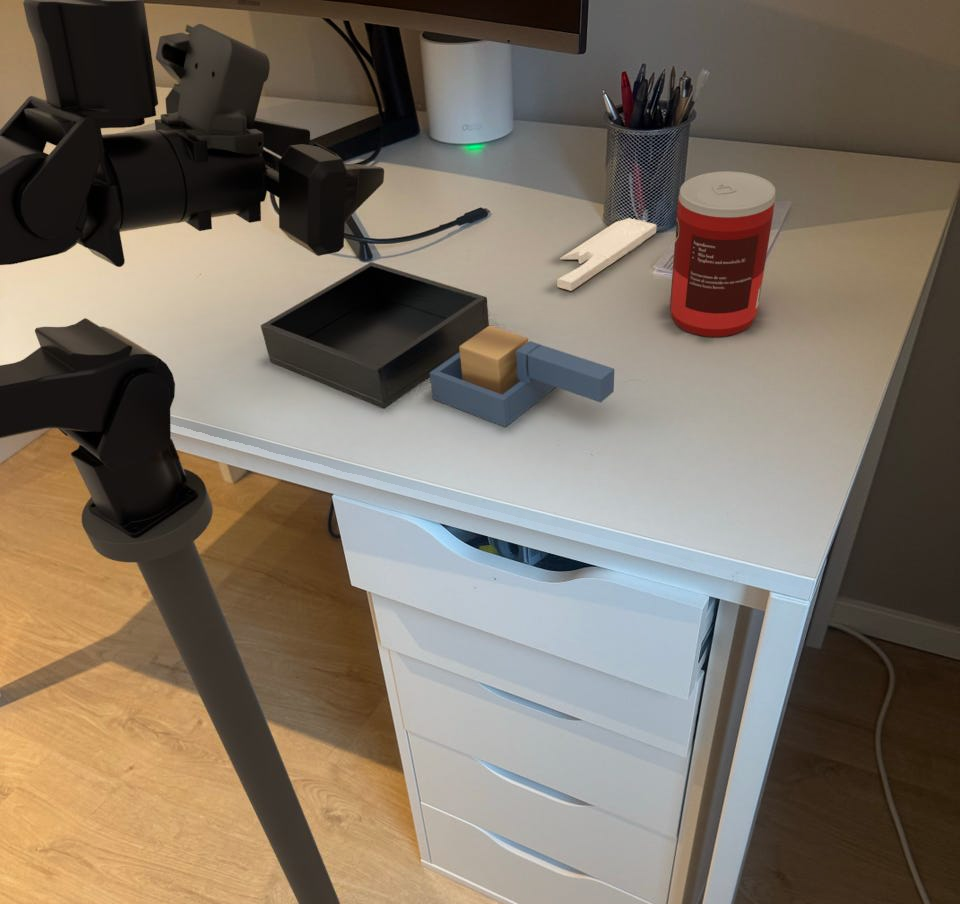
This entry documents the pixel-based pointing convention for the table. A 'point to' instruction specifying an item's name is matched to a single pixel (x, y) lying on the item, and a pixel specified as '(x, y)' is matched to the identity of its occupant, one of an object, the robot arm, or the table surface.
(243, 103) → the robot arm
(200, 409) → the table surface
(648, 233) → the white plastic blade
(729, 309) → the canned food
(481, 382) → the block
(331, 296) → the black square tray
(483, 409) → the scoop
